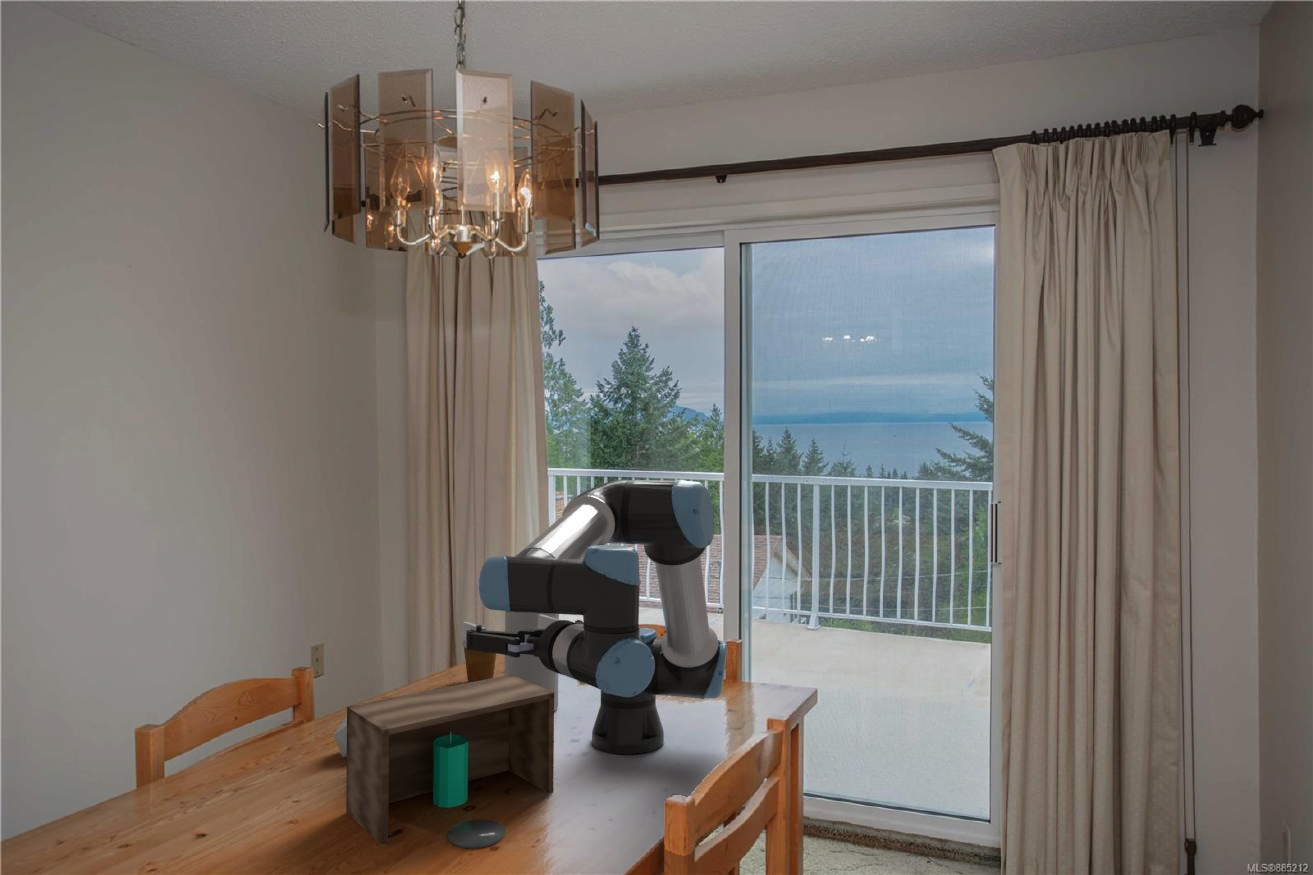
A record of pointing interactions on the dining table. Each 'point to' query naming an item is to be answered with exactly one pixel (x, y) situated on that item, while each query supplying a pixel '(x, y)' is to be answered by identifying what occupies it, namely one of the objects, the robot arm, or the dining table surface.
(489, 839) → the coaster
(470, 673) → the disposable coffee cup
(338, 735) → the die
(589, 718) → the dining table surface
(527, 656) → the cylinder vase
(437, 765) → the candle
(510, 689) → the cubby
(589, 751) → the dining table surface
